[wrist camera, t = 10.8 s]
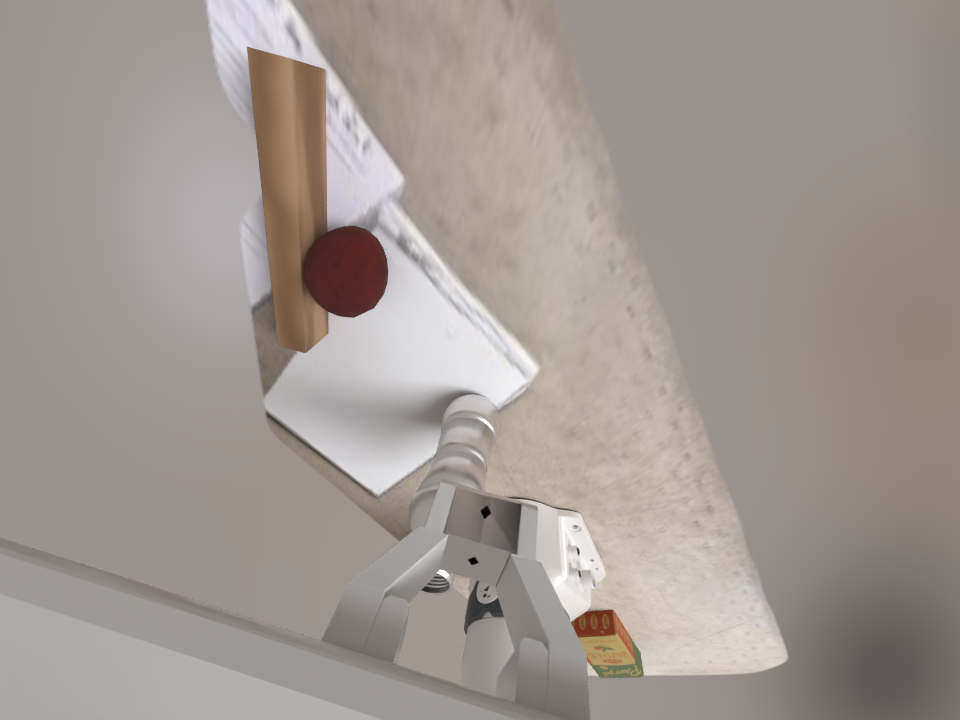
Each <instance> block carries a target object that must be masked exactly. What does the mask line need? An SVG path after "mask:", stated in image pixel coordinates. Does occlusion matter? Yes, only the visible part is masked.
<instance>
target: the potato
mask: <svg viewBox="0 0 960 720" xmlns="http://www.w3.org/2000/svg"><path fill="white" fill-rule="evenodd" d="M304 280H305V283H306V286H307V289H308V291H309V293H310V295H311V296H312V298H313V299H314V300H315V301H316V303H317V304H318V305H320V306H321V307H322V308H324V309H325V310H326V311H328V312H331V313H333V314H335V315H338V316H341V317H352V318H354V317H356V316H358V315H361V314H363V313H365V312H367V311H369V310H371V309H373V308H374V307H375V306H376V304H377V303H378V302H379V300H380V299H381V298H382V296H383V295H384V292H385V289H386V286H387V280H388V266H387V258H386V255H385V252H384V249H383V247H382V245H381V244H380V242H379V241H378V239H377V238H376V237H375V236H374V235H372V234H371V233H370V232H369V231H367V230H366V229H363V228H360V227H356V226H346V227H341V228H338V229H334V230H332V231H330V232H328V233H326V234H325V235H323V236H321V237H320V238H319V239H318V240H317V241H316V242H315V243H314V244H313V245H312V247H311V248H310V250H309V253H308V255H307V258H306V261H305V264H304Z"/></svg>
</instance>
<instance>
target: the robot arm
mask: <svg viewBox="0 0 960 720" xmlns="http://www.w3.org/2000/svg"><path fill="white" fill-rule="evenodd" d="M457 484H458V485H457ZM439 570H442V571H445V572H449V573H453V574H456V575H460V576H464V577H468V578H470V580H469V593H470V596H469V600H468V606H467V610H466V613H465V625H464V631H465V634H466V640H465V646H464V652H463V657H462V663H461V670H460V675H459V681H458V684H456V683H452V682H450V681H447V680H444V679H440V678H437V677H434V676H431V675H428V674H425V673H422V672H419V671H415V670H412V669H409V668H406V667H403V666H400V665H397V662H398V658H399V655H400V652H401V648H402V644H403V639H404V634H405V629H406V624H407V619H408V614H409V609H410V606H409V604H408V603H409V602H410V601H411V600H412V599H413V598H414V597H415V596H416V595H417V594H418V593H419V592H420V591H421V590H422V589H423V588H424V587H425V586H426V585H427V584H428V582H429V581H430V580H431V579H432V578H433V577H434V576H435V575H436V574H437V573H438V572H439ZM604 578H605V568H604V566H603V563H602V561H601V559H600V557H599V554H598V552H597V550H596V548H595V545H594V543H593V541H592V539H591V536H590V534H589V532H588V530H587V527H586V525H585V523H584V521H583V518H582V516H581V515H580V514H579V513H577V512H574V511H568V510H560V509H555V508H552V507H549V506H547V505H544V504H542V503H539V502H535V501H531V500H524V499H511V498H508V497H504V496H501V495H497V494H493V493H490V492H489V493H487V492H484V491H481V490H478V489H475V488H471V487H468V486H465V485H462V484H459V483H456V482H452V481H449V480H446V479H441V481H440V483H439V485H438V488H437V491H436V494H435V497H434V500H433V503H432V505H431V508H430V511H429V514H428V517H427V520H426V523H425V525H424V527H422V526H418V527H417V528H416V529H414V530H413V531H412V532H411V533H409V534H408V535H407V536H406V537H404V538H403V539H402V540H401V541H399V542H398V543H397V544H395V545H394V546H393V547H392V548H391V549H389V550H388V551H387V552H385V553H384V554H383V555H382V556H380V557H379V558H378V559H376V560H375V561H374V562H373V563H372V564H370V565H369V566H368V567H366V568H365V569H364V570H363V571H361V572H360V573H359V574H357V575H356V576H355V577H354V578H353V579H351V580H350V582H349V584H348V586H347V588H346V590H345V592H344V594H343V596H342V598H341V600H340V602H339V605H338V606H337V609H336V611H335V613H334V615H333V617H332V619H331V621H330V623H329V625H328V627H327V629H326V631H325V634H324V636H323V638H322V640H319V639H315V638H312V637H309V636H306V635H303V634H300V633H297V632H294V631H291V630H288V629H284V628H281V627H278V626H275V625H272V624H269V623H266V622H263V621H259V620H256V619H253V618H250V617H247V616H244V615H241V614H238V613H234V612H231V611H228V610H225V609H222V608H219V607H216V606H212V605H209V604H206V603H203V602H200V601H197V600H194V599H190V598H188V597H185V596H181V595H178V594H175V593H172V592H169V591H166V590H163V589H160V588H156V587H153V586H150V585H147V584H144V583H141V582H137V581H134V580H132V579H128V578H125V577H122V576H119V575H116V574H113V573H110V572H107V571H103V570H100V569H97V568H94V567H91V566H87V565H85V564H81V563H78V562H75V561H72V560H69V559H65V558H63V557H59V556H56V555H53V554H50V553H47V552H43V551H40V550H37V549H34V548H31V547H28V546H25V545H22V544H19V543H16V542H13V541H10V540H7V539H4V538H1V537H0V720H590V709H589V692H588V673H587V655H586V652H585V650H584V648H583V646H582V644H581V642H580V640H579V638H578V636H577V634H576V632H575V630H574V628H573V626H572V624H571V622H572V621H573V620H575V619H576V618H577V617H579V616H580V615H582V614H584V613H585V612H586V611H587V610H588V609H589V608H590V606H591V589H595V588H596V583H598V582H599V581H601V580H602V579H604Z"/></svg>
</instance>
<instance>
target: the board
mask: <svg viewBox="0 0 960 720" xmlns="http://www.w3.org/2000/svg"><path fill="white" fill-rule="evenodd" d="M247 51H248V61H249V71H250V80H251V90H252V100H253V109H254V119H255V129H256V139H257V148H258V157H259V167H260V177H261V187H262V197H263V206H264V216H265V226H266V235H267V245H268V255H269V265H270V274H271V284H272V294H273V303H274V313H275V323H276V332H277V342H278V345H279V346H282V347H286V348H289V349H293V350H296V351H300V352H303V353H306V352H307V351H308V350H310V349H311V348H312V347H313V346H314V345H315V344H317V343H318V342H319V341H320V340H321V339H322V338H323V337H325V336H326V335H327V334H328V311H326V310H325V309H324V308H322V307H321V306H320V305H318V304H317V303H316V301H315V300H314V299H313V298H312V296H311V295H310V293H309V291H308V289H307V286H306V283H305V280H304V264H305V261H306V258H307V255H308V253H309V250H310V248H311V247H312V245H313V244H314V243H315V242H316V241H317V240H318V239H319V238H320V237H321V236H323V235H325V234H326V233H327V180H326V91H325V69H322V68H319V67H316V66H312V65H309V64H306V63H303V62H299V61H296V60H293V59H290V58H286V57H283V56H279V55H275V54H272V53H268V52H264V51H260V50H257V49H253V48H249V47H247Z"/></svg>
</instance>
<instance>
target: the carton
mask: <svg viewBox="0 0 960 720" xmlns="http://www.w3.org/2000/svg"><path fill="white" fill-rule="evenodd" d="M571 624H572V626H573V628H574V630H575V632H576V634H577V636H578V638H579V640H580V642H581V644H582V646H583V648H584V650H585V652H586V655H587V661H588V662H589V663H590V665H591V666H592V667H593V669H594V670H595V671H596V673H597V674H598V675H599V676H600V677H601V678H616V677H617V678H628V677H629V678H630V677H644V673H643V667H642V661H641V654H640V652H639V650H638V648H637V647H636V645H635V644H634V642H633V641H632V639H631V637H630V636H629V634H628V633H627V631H626V629H625V628H624V626H623V624H622V623H621V621H620V620H619V618H618V616H617V615H616V613H615V612H614V610H604V611H588V612H585V613H584V614H582V615H580V616H579V617H577V618H576V619H575V620H573V621H572V622H571Z"/></svg>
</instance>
